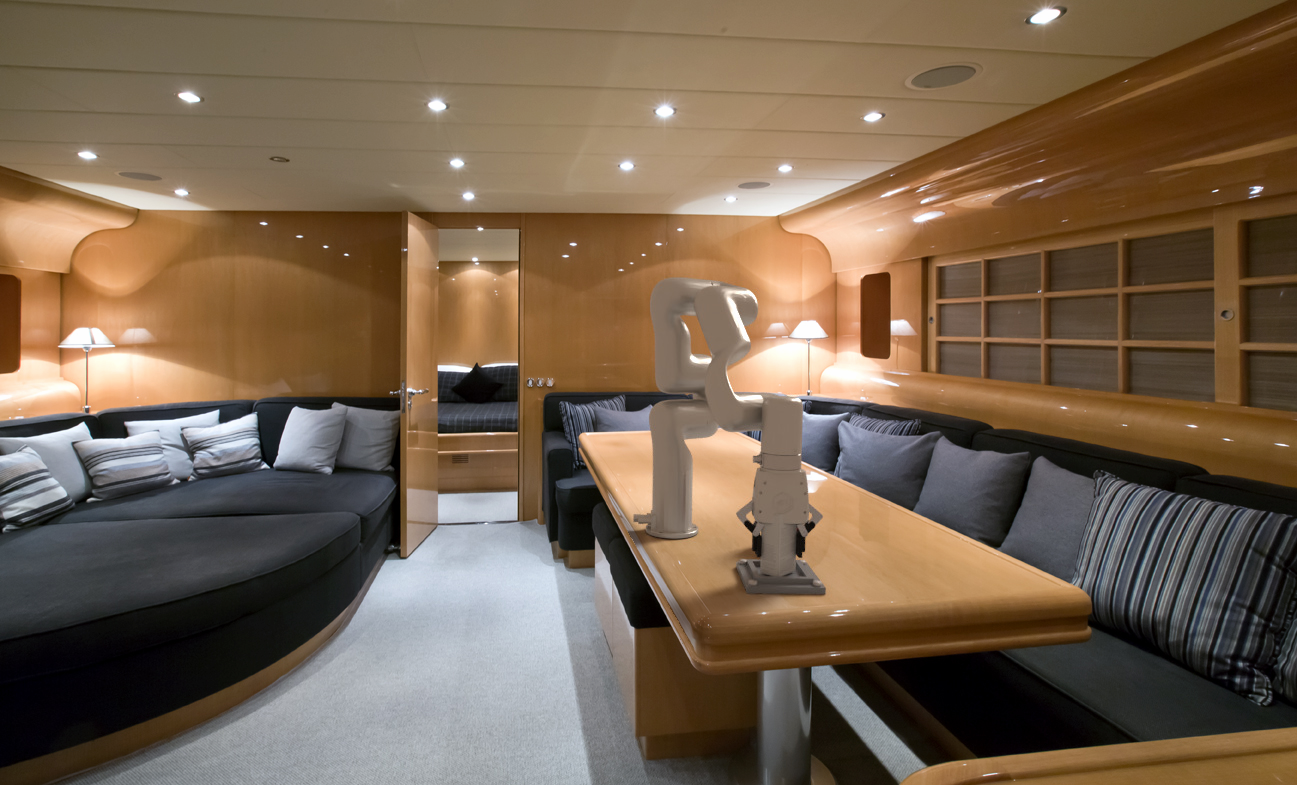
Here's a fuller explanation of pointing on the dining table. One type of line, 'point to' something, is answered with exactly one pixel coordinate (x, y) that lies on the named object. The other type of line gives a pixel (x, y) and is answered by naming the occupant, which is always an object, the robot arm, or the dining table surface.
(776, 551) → the skincare box
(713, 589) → the dining table surface
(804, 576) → the plate
